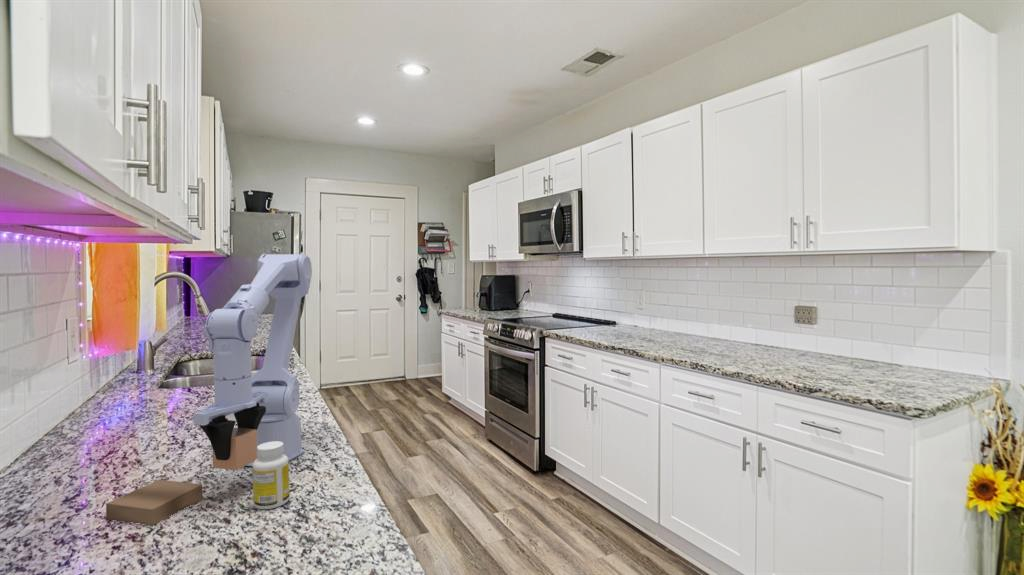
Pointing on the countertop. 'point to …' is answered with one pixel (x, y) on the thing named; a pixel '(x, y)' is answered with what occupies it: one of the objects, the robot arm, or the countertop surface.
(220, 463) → the terracotta pot
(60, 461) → the countertop surface
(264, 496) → the supplement bottle
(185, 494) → the walnut block
